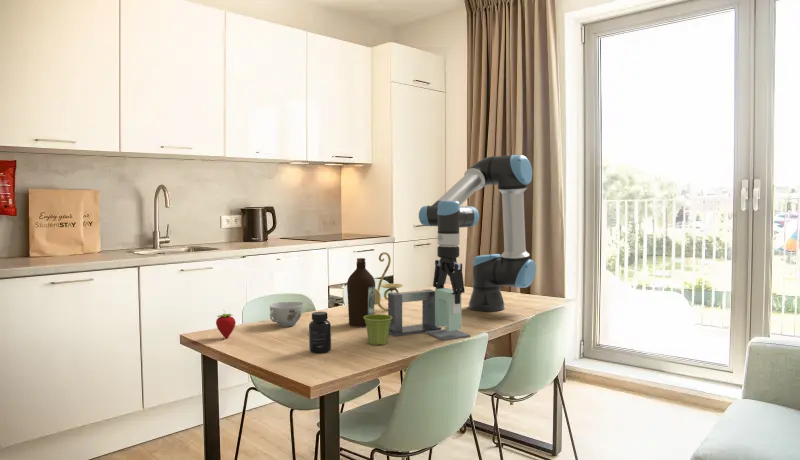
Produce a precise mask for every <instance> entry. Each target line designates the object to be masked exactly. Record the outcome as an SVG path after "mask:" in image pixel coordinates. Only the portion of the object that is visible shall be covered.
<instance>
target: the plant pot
mask: <svg viewBox="0 0 800 460" xmlns="http://www.w3.org/2000/svg"><path fill="white" fill-rule="evenodd" d="M364 319H365V323H366V327H365V328H366V331H367V332H366V333H367V339H368V343H369V344H370V345H372V346H378V345H386V344H387V343H388V339H389V334H388V333H389V326H390V323H391V319H392V316H389V315H388V314H381V313H380V314H377V313H376V314H375V313H374V314H373V315H366V316H364Z"/></svg>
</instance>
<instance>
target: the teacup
mask: <svg viewBox="0 0 800 460" xmlns="http://www.w3.org/2000/svg"><path fill="white" fill-rule="evenodd" d="M269 310H270V313H269V319H270V320H271V321H272V323H276V324H278V325H279V326H280V327H283V328H285V327H286V328H287V327H294V326H295V325H296V324H297V323H298V322H299V320H300V319H301V317H302V314H303V311H304V303H303V302H300V301H288V302H287V301H281V302H275V303H272V304H270V305H269Z"/></svg>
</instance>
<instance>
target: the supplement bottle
mask: <svg viewBox="0 0 800 460" xmlns="http://www.w3.org/2000/svg"><path fill="white" fill-rule="evenodd" d="M328 318H329V317H328V312H327V311H314V312H311V320H312V321H310V322H309V324H308V347H309V352H310V353H312V354H318V355H319V354H325V353H329V352H330V351H332V350H331V349H332V327H331V326H332V325H331V321H329V320H328Z"/></svg>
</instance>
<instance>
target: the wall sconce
mask: <svg viewBox="0 0 800 460" xmlns="http://www.w3.org/2000/svg"><path fill="white" fill-rule="evenodd" d="M383 255H386V256H387V259H388V262H387V266H386V267H385V269H384V271H383V273H382V275H381V276H380V279H379V281H378V285H377V288H375V304H374V306H376V305H378V307H379V308H380V309H381V310H382V311H384V312H385V311H386V312H388V308H385V307H383V306H382V304H381V300H382V299H381V298H382V296H381V292H380V290H381V288H384V289H386V290H385V291H384V293H383V297H384V299H385V300H386V301H388V296H387V295H388V293H389V292H390V293H393V291H395V292H396V293H400V292H399V288H402V287H403V286H404V285H403V284H402V283H384V284H382V282H383V280H384V277H385V275H386V274H387V271H388V270H389V267H390V266H391V262H392V259H391V255H390V254H389V253H388V252H386V251H384V252H381V253H380V254H379V257H378V260H379V261H380V262H381V263H383V262H384V261H385V258H382V256H383Z"/></svg>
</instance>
